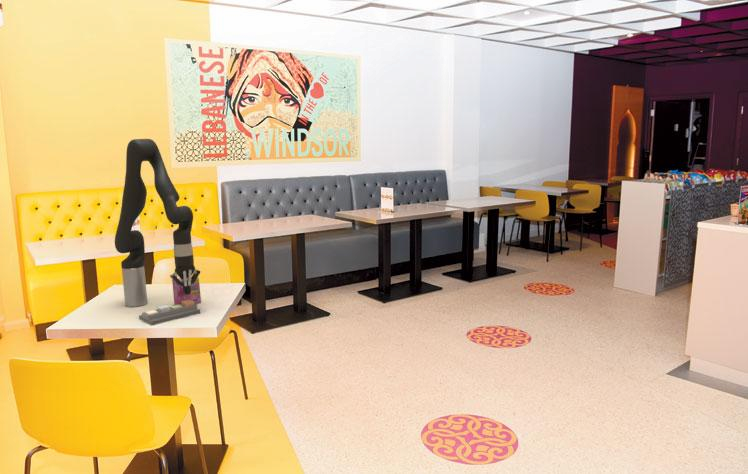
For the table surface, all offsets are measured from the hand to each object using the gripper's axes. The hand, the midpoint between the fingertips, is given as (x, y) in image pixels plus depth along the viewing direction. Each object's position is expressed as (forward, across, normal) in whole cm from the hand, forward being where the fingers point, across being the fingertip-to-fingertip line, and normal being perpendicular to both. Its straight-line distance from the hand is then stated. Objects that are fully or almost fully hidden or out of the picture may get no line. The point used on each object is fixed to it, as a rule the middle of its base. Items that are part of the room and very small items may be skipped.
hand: (187, 294), depth 236 cm
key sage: (+6, +5, 0) cm, 8 cm away
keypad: (+8, +8, -1) cm, 11 cm away
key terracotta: (+5, 0, 0) cm, 5 cm away
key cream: (+6, +16, 0) cm, 17 cm away
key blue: (+5, +10, 0) cm, 11 cm away
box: (+8, -6, -12) cm, 16 cm away
